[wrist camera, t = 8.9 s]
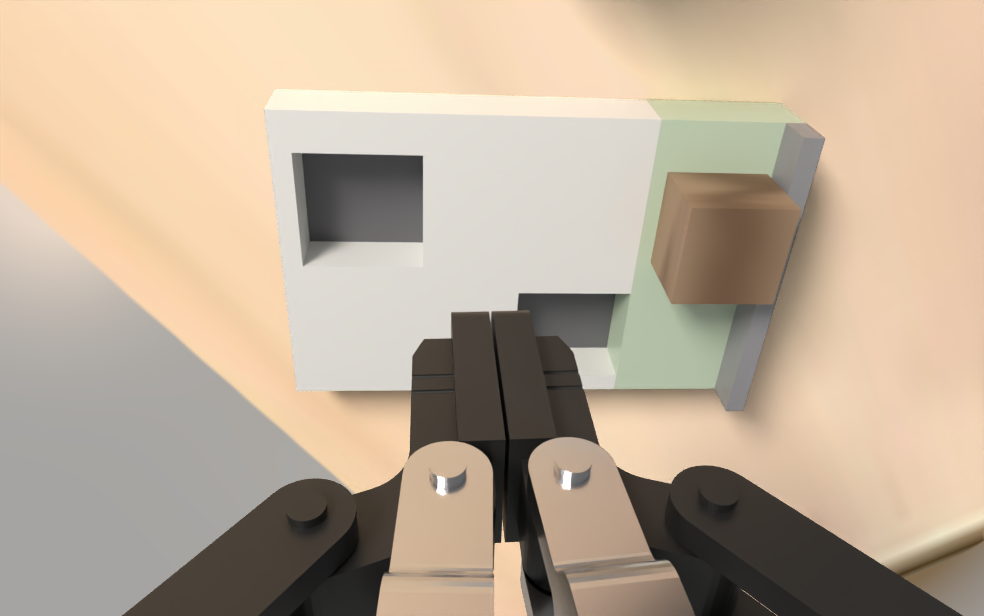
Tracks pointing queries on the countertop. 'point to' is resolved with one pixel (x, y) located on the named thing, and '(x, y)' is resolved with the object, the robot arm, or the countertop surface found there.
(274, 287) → the countertop surface
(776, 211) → the walnut block
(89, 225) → the countertop surface
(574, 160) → the box
